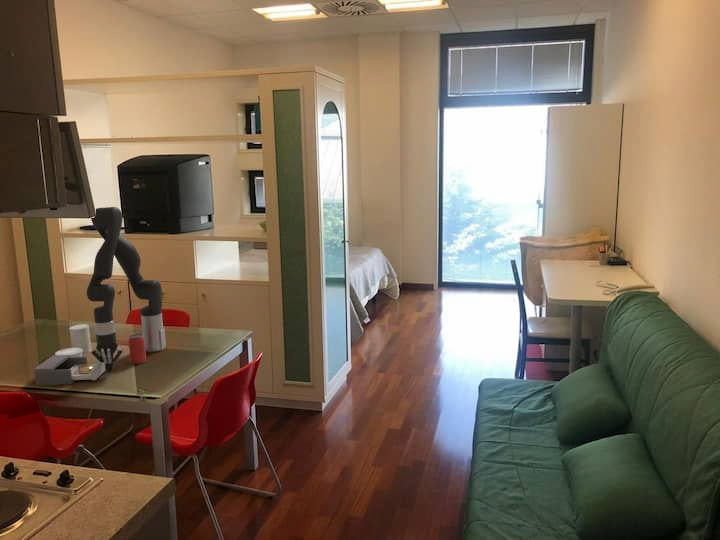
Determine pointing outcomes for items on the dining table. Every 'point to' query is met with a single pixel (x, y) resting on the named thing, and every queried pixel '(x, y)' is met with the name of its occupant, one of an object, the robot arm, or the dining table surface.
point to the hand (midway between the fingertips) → (109, 371)
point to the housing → (57, 370)
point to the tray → (94, 374)
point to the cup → (80, 337)
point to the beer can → (137, 349)
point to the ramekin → (70, 352)
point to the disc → (85, 369)
